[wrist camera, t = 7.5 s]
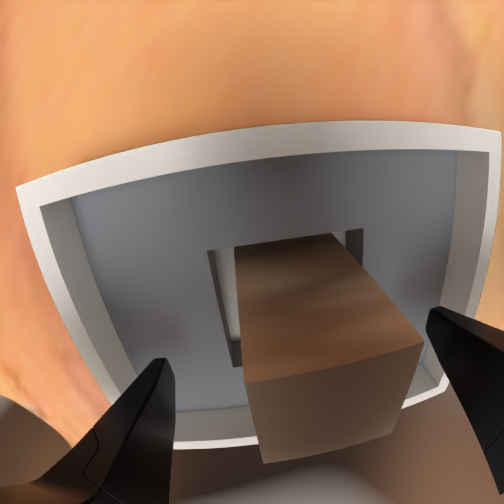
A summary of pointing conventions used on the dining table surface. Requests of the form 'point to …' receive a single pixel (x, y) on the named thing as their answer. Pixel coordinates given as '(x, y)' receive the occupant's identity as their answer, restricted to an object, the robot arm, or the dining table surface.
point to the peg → (319, 347)
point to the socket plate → (251, 232)
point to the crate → (216, 153)
